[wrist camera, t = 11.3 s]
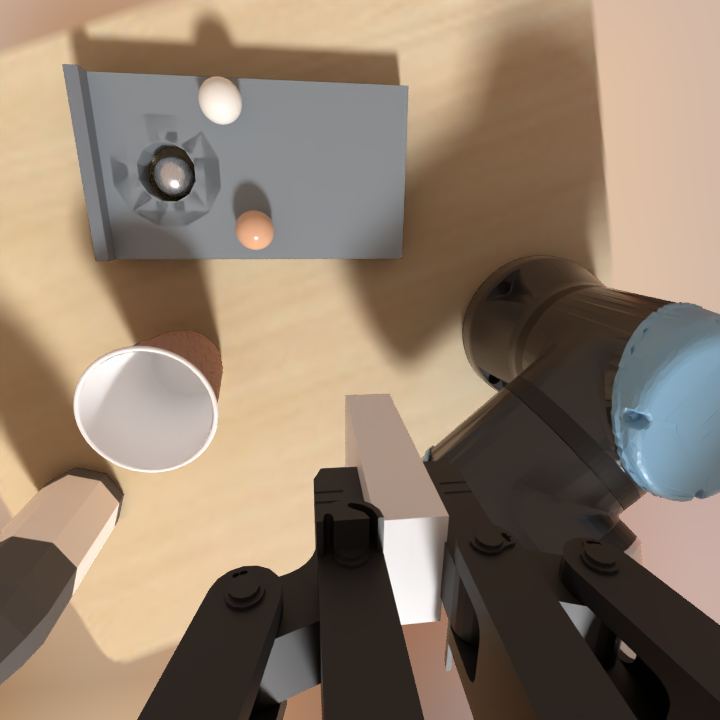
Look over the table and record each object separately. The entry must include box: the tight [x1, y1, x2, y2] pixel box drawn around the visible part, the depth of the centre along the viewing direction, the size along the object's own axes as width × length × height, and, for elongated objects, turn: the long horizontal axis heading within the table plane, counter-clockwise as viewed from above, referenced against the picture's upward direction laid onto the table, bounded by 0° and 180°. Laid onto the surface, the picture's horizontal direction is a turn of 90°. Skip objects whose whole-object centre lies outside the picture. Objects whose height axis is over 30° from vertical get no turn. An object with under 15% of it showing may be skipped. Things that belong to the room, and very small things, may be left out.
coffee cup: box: [74, 330, 223, 472], centre depth 39 cm, size 10×10×12 cm
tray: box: [62, 64, 408, 261], centre depth 38 cm, size 26×14×4 cm, turn 89°
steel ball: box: [154, 157, 194, 197], centre depth 38 cm, size 3×3×3 cm
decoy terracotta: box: [235, 210, 274, 250], centre depth 37 cm, size 3×3×3 cm
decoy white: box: [198, 76, 242, 125], centre depth 34 cm, size 3×3×3 cm
